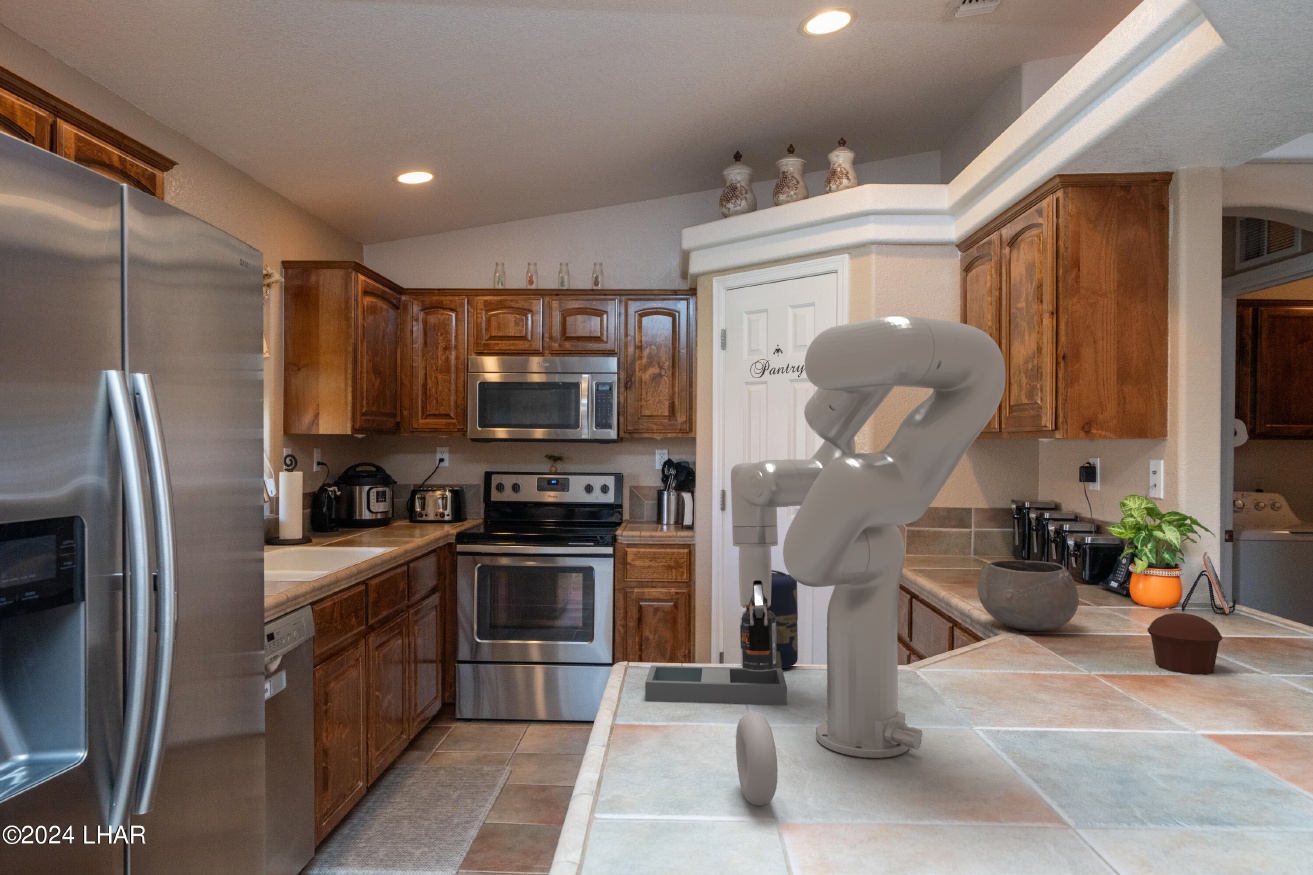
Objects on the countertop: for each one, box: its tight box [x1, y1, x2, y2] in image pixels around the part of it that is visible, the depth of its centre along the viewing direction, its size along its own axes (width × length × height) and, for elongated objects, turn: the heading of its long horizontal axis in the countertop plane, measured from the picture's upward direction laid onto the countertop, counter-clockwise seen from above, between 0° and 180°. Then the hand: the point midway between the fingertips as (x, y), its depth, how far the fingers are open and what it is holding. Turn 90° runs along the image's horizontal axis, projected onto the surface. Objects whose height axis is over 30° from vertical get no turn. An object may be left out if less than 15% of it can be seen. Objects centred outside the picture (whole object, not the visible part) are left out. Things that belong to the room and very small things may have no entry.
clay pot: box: [976, 559, 1080, 632], centre depth 176 cm, size 21×21×15 cm
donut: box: [735, 711, 778, 807], centre depth 87 cm, size 10×4×10 cm, turn 5°
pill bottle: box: [739, 599, 777, 671], centre depth 126 cm, size 6×6×11 cm
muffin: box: [1147, 612, 1223, 676], centre depth 143 cm, size 12×11×10 cm
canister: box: [769, 569, 799, 669], centre depth 144 cm, size 10×10×18 cm
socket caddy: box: [644, 664, 788, 706], centre depth 127 cm, size 23×10×3 cm, turn 85°
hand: (758, 645), depth 125 cm, fingers closed on pill bottle, 6 cm apart
